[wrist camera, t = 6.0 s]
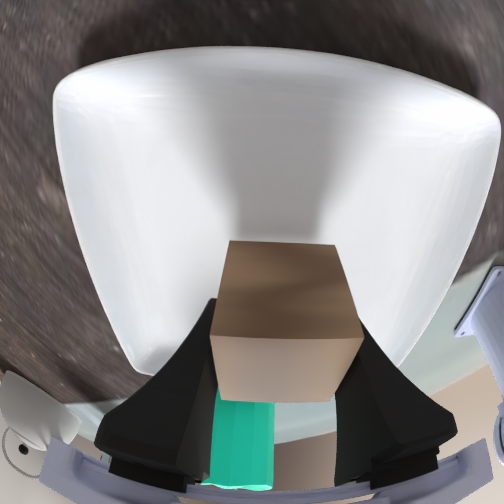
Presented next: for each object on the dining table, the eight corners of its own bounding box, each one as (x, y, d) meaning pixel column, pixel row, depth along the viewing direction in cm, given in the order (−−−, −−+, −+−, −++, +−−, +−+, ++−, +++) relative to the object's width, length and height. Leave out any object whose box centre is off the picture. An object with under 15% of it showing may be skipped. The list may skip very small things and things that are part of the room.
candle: (206, 373, 23) (187, 496, 13) (272, 373, 22) (269, 503, 12) (220, 400, 26) (208, 501, 16) (276, 400, 26) (274, 505, 16)
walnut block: (334, 244, 11) (364, 337, 7) (317, 316, 14) (329, 401, 10) (229, 240, 12) (209, 335, 7) (232, 313, 14) (221, 399, 10)
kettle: (53, 390, 35) (21, 484, 17) (104, 432, 48) (86, 505, 30) (-8, 360, 37) (-38, 429, 18) (40, 406, 50) (19, 465, 31)
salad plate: (471, 103, 9) (511, 115, 7) (381, 352, 22) (390, 383, 19) (85, 74, 10) (44, 80, 7) (145, 342, 22) (134, 374, 19)
